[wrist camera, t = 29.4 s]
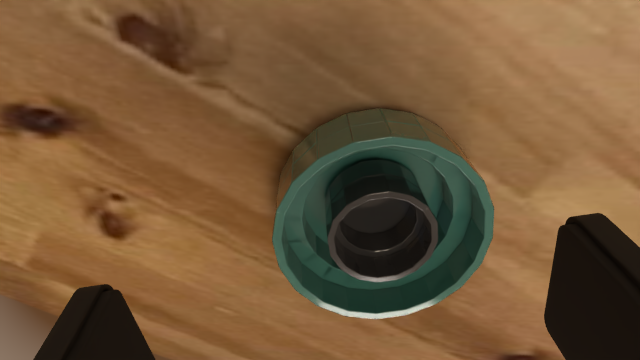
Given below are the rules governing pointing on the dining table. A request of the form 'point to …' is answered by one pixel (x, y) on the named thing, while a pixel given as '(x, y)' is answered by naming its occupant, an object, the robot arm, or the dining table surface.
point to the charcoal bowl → (379, 222)
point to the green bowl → (438, 187)
